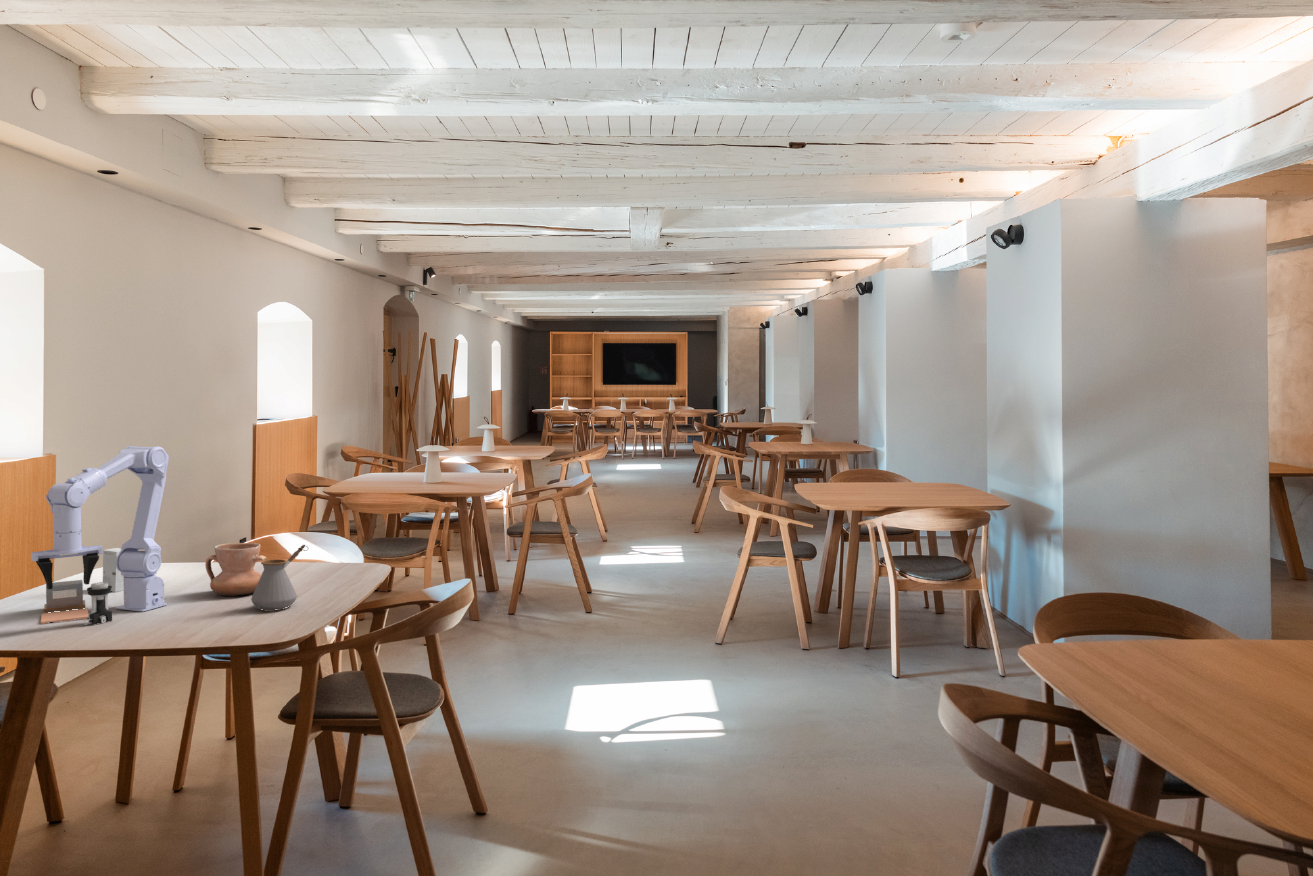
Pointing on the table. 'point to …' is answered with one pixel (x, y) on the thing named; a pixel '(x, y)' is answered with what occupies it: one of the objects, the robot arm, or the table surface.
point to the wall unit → (64, 596)
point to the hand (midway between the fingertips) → (68, 586)
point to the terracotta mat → (64, 615)
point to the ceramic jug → (235, 568)
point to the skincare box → (112, 570)
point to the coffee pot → (275, 585)
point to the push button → (99, 603)
